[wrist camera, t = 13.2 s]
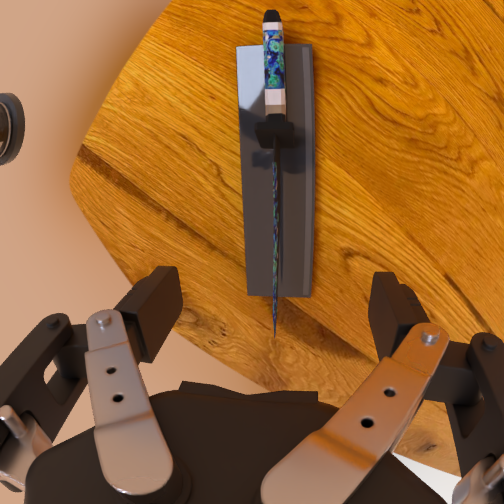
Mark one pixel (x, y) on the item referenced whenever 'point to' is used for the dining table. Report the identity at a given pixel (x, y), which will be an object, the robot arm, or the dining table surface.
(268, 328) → the dining table surface
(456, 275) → the dining table surface
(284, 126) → the knife
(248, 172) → the slate board
